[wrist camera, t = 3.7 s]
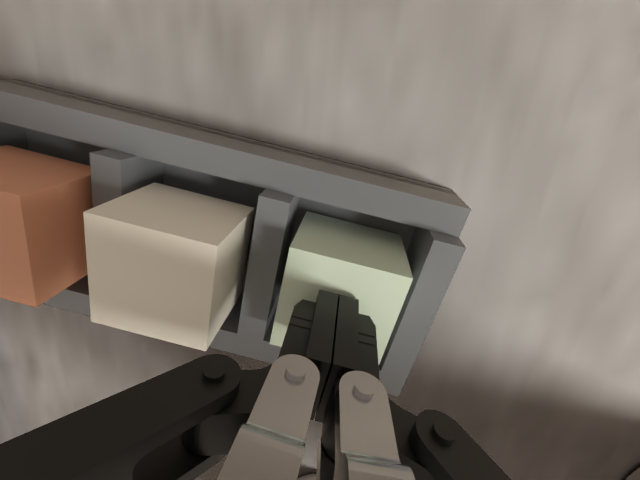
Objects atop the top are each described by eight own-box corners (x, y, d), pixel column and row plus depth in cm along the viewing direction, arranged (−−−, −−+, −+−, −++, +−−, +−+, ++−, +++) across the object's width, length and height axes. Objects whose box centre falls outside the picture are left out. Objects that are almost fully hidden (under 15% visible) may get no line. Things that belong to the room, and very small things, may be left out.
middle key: (254, 207, 14) (217, 246, 11) (241, 293, 16) (206, 351, 12) (154, 182, 14) (83, 211, 11) (152, 270, 16) (91, 321, 12)
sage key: (400, 234, 15) (413, 278, 12) (373, 312, 17) (376, 371, 13) (306, 211, 15) (289, 246, 12) (289, 290, 17) (269, 343, 13)
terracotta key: (107, 170, 14) (19, 195, 11) (110, 259, 16) (36, 307, 12) (8, 145, 14) (-113, 161, 11) (22, 236, 16) (-77, 277, 12)
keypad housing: (451, 189, 15) (479, 218, 12) (391, 339, 19) (398, 396, 15) (14, 79, 16) (-91, 74, 12) (38, 248, 19) (-37, 283, 16)
